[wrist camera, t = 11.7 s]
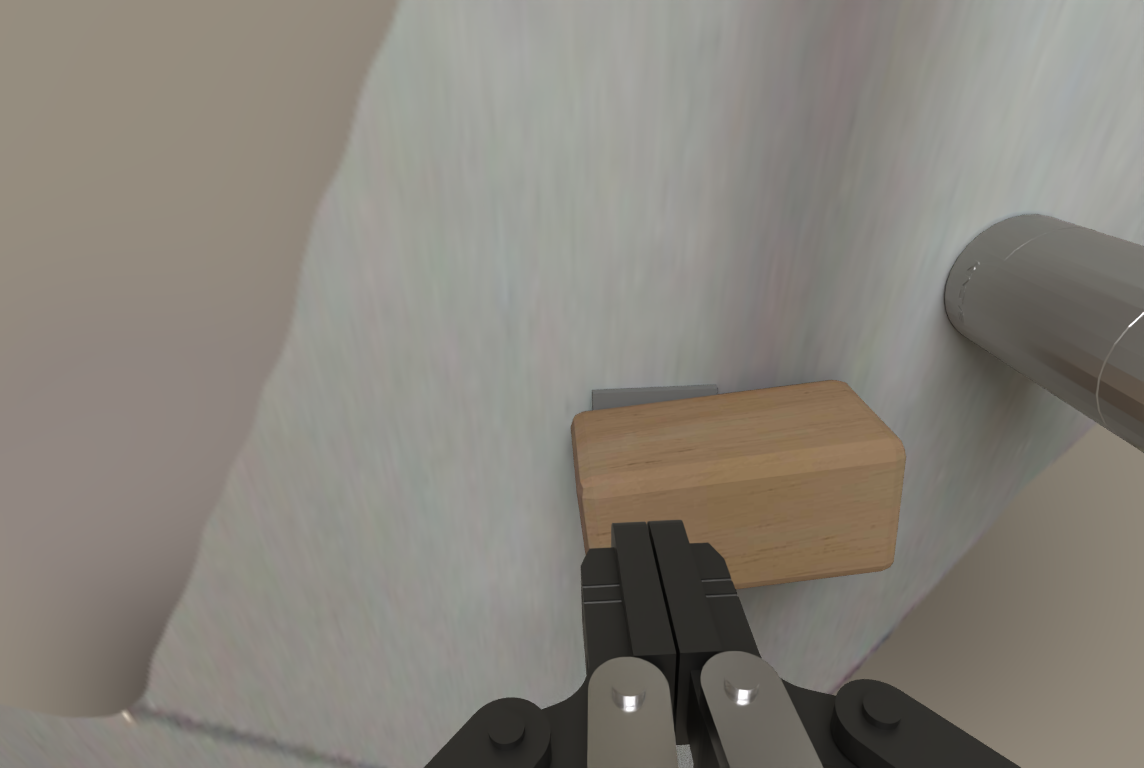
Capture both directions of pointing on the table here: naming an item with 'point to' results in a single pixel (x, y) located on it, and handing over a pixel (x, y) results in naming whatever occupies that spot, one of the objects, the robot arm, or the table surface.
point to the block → (750, 478)
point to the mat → (647, 395)
